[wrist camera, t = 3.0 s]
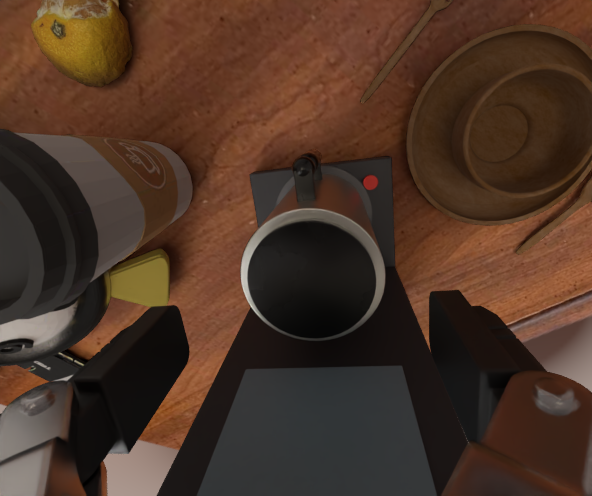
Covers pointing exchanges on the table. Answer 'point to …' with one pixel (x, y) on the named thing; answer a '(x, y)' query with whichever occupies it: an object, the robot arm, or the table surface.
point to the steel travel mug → (314, 258)
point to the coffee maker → (326, 391)
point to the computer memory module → (55, 367)
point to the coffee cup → (78, 212)
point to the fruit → (84, 39)
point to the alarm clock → (86, 309)
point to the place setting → (502, 125)
